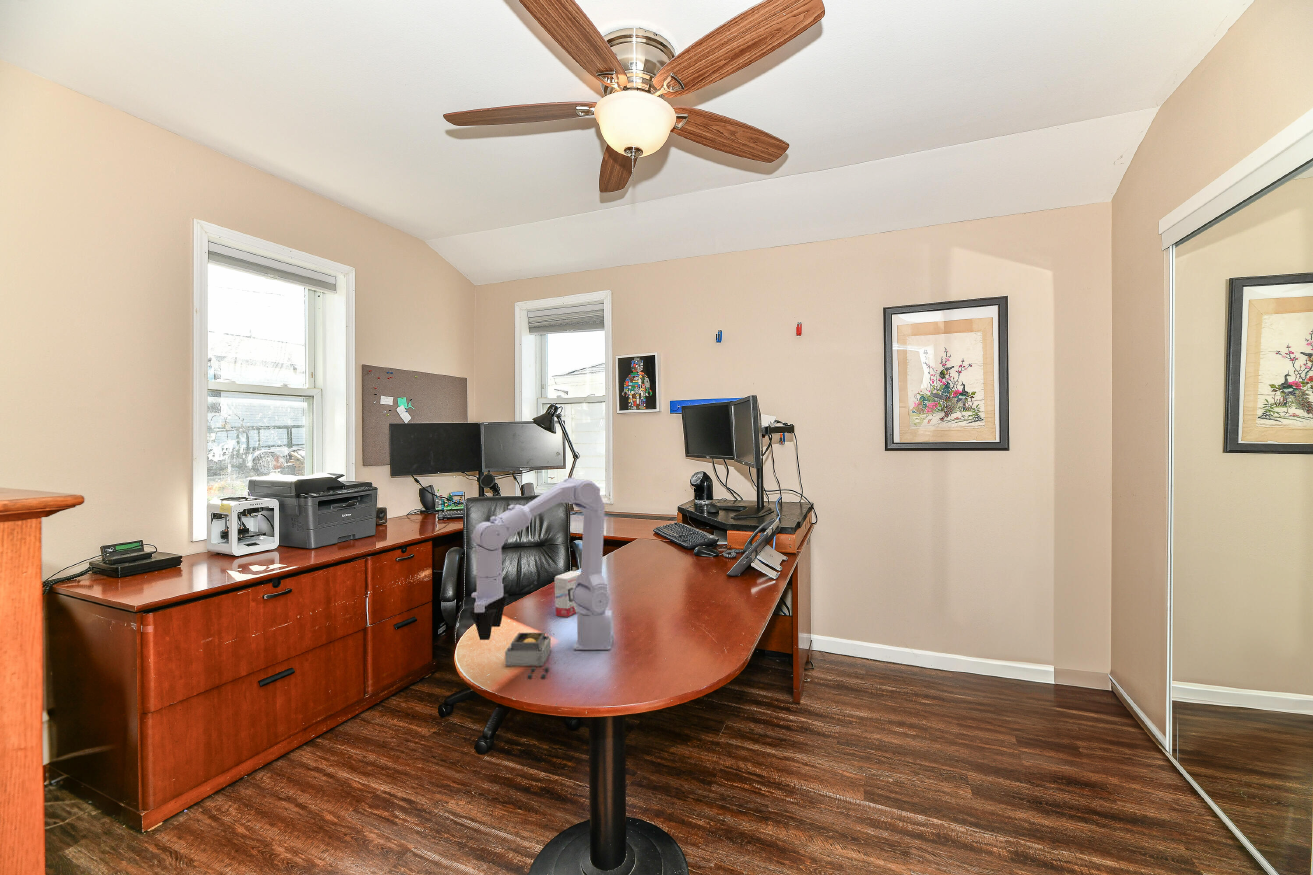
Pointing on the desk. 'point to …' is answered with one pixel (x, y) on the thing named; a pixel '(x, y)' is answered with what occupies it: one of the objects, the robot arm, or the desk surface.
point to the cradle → (541, 675)
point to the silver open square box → (528, 650)
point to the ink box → (565, 593)
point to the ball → (529, 640)
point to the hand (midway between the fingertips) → (490, 632)
